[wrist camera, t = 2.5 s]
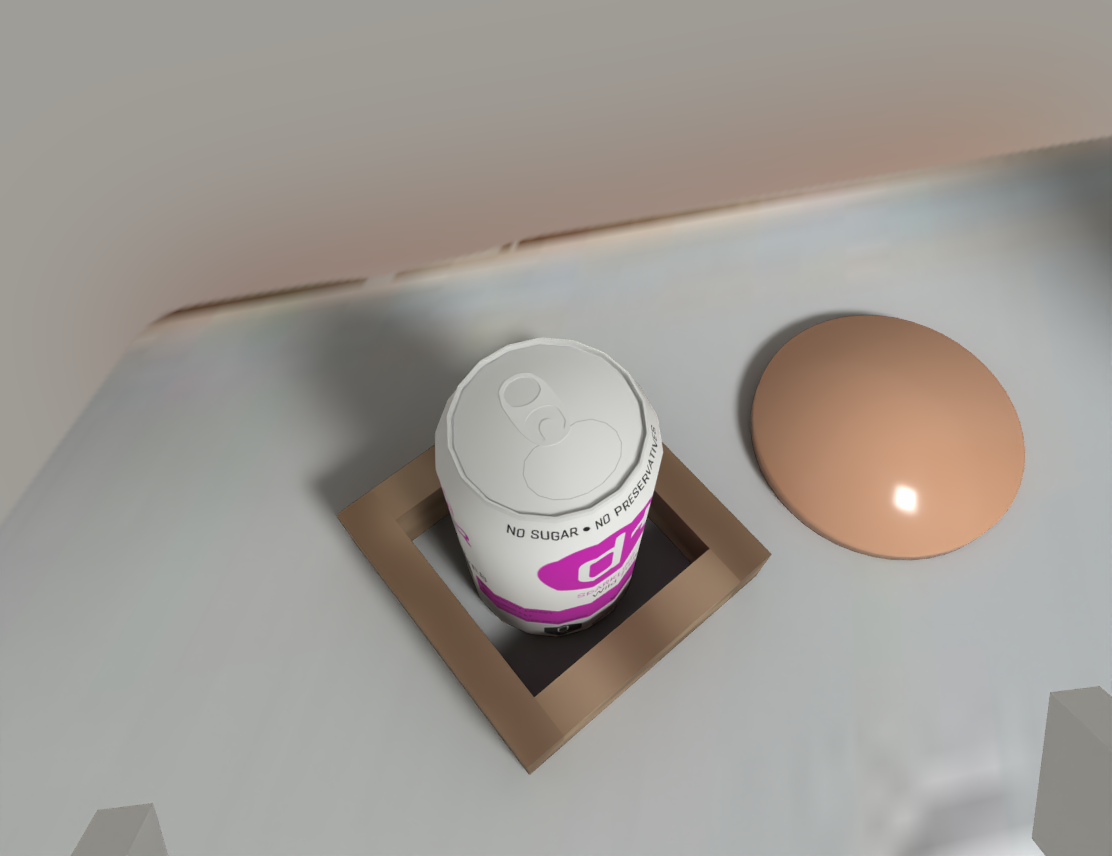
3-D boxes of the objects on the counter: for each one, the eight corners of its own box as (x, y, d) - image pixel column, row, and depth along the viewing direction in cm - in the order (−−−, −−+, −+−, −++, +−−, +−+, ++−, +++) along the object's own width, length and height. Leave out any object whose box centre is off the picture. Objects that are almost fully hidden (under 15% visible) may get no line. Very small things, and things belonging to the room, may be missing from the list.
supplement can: (666, 576, 42) (716, 449, 28) (528, 673, 40) (512, 585, 26) (572, 454, 45) (577, 287, 31) (439, 538, 43) (384, 398, 29)
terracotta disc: (868, 284, 50) (874, 273, 49) (1070, 450, 45) (1080, 442, 44) (696, 419, 46) (699, 410, 45) (896, 617, 41) (904, 611, 40)
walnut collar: (569, 381, 47) (570, 348, 44) (755, 576, 42) (771, 554, 39) (352, 539, 43) (336, 515, 40) (529, 774, 38) (526, 768, 35)
